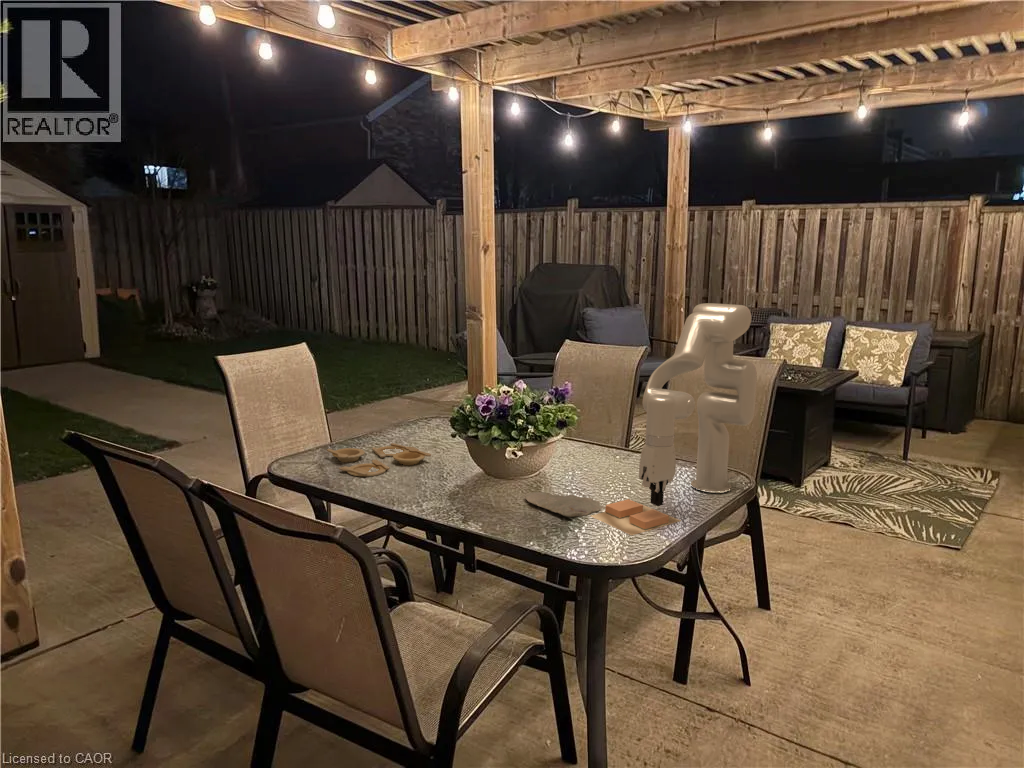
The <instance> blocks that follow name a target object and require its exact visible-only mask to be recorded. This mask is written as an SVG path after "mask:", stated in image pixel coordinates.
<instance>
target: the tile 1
mask: <svg viewBox="0 0 1024 768" xmlns="http://www.w3.org/2000/svg"><path fill="white" fill-rule="evenodd" d="M641 504H642V503H640V504H639V502H636V501H633V500H632V499H629V498H628V499H623V500H620V501H617V502H616V501H615V502H612V503H608V504H605V506H604V507H605V508H604V509H605V510H604V512H607V513H608V514H610V515H613V516H615V517H617V518H619V519H620V518H623V517H627V516H630V515H634V514H638V513H641V512H643V505H644V504H642V505H641Z"/></svg>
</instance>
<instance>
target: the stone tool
mask: <svg viewBox="0 0 1024 768" xmlns="http://www.w3.org/2000/svg"><path fill="white" fill-rule="evenodd" d="M524 497H525V500H526V501H527V502H528V503H530V504H532V505H535V506H538V507H540V508H543V509H544V510H549V511H550V512H552V513H556V514H559V515H562V516H563V517H567V518H568V517H569V518H572V517H573V518H577V517H586V516H590V515H591V514H592V513H593V514H594V513H597V512H600V511H602V509H605V506H604V505H601V502H600V501H599V500H594V498H591V497H587V496H584V497H583V496H577V495H574V494H569V495H560V494H552V493H549V492H544V491H534V492H527V493H526V494H524Z"/></svg>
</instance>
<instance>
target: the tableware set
mask: <svg viewBox="0 0 1024 768" xmlns="http://www.w3.org/2000/svg"><path fill="white" fill-rule="evenodd" d="M395 448H396V449H401V450H403V452H400V453H396V454H385V453H384V452H383V450H385V449H395ZM371 449H372V451H373V452H374V454H375V455H377V456H379V457H380V458H381V459H382V458H385V457H388V456H390V457H392V459H394V461H398V462H399V464H400V465H402V464H403V465H402V466H414V464H415V465H418V464H419V463H420V461H423V460H424V459H425V458H426V457H428V458H429V457H432V453H430V452H426V451H422V450H419V448H417V447H413V446H406V445H402V444H398V443H393V442H392V443H390V445H387V446H386V445H385V446H381V447H372V448H371ZM326 452H328V453H330V454H331V455H332V456H333V457H335V458H337V459H338V461H339V462H340V461H341V463H353V461H354V462H357V461H358V460H359V459H360V457H362V456H363V455H365V453H366V452H365V450H364V449H360V448H353V447H351V448H350V447H347V448H346V447H345V448H339V449H336V450H334V449H332V448H327V449H326ZM372 467H374V468H376V469H379V470H378V471H376V472H368V471H369V470H370V469H371V468H372ZM369 468H370V469H369ZM390 469H391V468H390V467H389V466H388V465H386V464H385V463H384V462H382V461H380V460H378V459H373V460H371V463H370V462H369V463H367V462H366V463H358V464H353V465H351V466H345V465H344V466H341V467H338V470H341V471H343V472H347V474H349V475H351V476H356V477H366V478H367V477H374V476H380V475H382V474H384V473H385V472H386V471H390Z"/></svg>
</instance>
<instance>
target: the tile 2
mask: <svg viewBox="0 0 1024 768" xmlns="http://www.w3.org/2000/svg"><path fill="white" fill-rule="evenodd" d="M658 511H659V510H657V511H656V509H654V508H652V510H649V511H645V512H641V513H638V514H634V515H630V519H629V523H631V524H633V525H635V526H637V527H639V528H642V529H644V530H646V529H650V528H653V527H657V526H660V525H664V524H667V523H668V521H669V516H670V515H669V514H666V513H664V512H662V513H661V511H659V512H658ZM663 513H664V514H663ZM668 515H669V516H668Z"/></svg>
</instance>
